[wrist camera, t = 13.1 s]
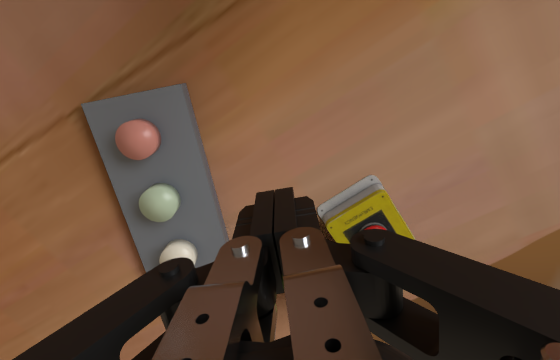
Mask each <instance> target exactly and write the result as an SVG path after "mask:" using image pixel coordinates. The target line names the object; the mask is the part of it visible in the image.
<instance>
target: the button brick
mask: <svg viewBox="0 0 560 360" xmlns="http://www.w3.org/2000/svg"><path fill="white" fill-rule="evenodd" d="M115 142H116V145H117V147H118V149H119V150H120V152H121V153H122V154H123V155H125V156H126V157H128V158H130V159H133V160H142V159H145V158H147V157H149V156H150V155H152V154H154V153H155V152H156V151H157V150H158V149H159V147H160V145H161V135H160V132H159V130H158V128H157V127H156V126H155V125H154V124H153V123H152V122H150V121H148V120H145V119H134V120H131V121H128V122H125V123H123V124H122V125H120V126H119V128H118V129H117V131H116V134H115Z"/></svg>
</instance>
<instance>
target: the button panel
mask: <svg viewBox="0 0 560 360" xmlns="http://www.w3.org/2000/svg"><path fill="white" fill-rule="evenodd" d="M81 105H82V108H83V111H84V113H85V116H86V118H87V121H88V124H89V126H90V129H91V131H92V134H93V136H94V139H95V142H96V144H97V147H98V149H99V152H100V155H101V157H102V160H103V162H104V165H105V167H106V170H107V173H108V175H109V178H110V180H111V183H112V186H113V188H114V191H115V193H116V196H117V198H118V201H119V204H120V206H121V209H122V211H123V214H124V217H125V219H126V222H127V224H128V227H129V229H130V232H131V235H132V237H133V240H134V242H135V245H136V248H137V250H138V253H139V255H140V258H141V260H142V263H143V266H144V268H145V271H146V273H147V272H148V271H150V270H151V269H153V268H154V267H156V266H158V265H159V264H160V262H159V259H160V255H161V253H162V252H163V250H164V249H165V247H166V246H167V244H168V243H169V242H171V241H173V240H176V239H183V240H187V241H189V242H191V243H192V244H193V245H194V246H195V247H196V249H197V252H198V258H197V260H196V263H195V265H194V266H195V268H198V267H200V266H203V265H206V264H209V263H211V262H214V261H215V258H216V256H217V254H218V252H219V249H220V248H221V247H222V245H224V244H225V243H226V242H228V241H229V238H228V235H227V231H226V227H225V224H224V220H223V217H222V213H221V209H220V206H219V202H218V198H217V195H216V191H215V187H214V184H213V180H212V177H211V173H210V169H209V166H208V162H207V158H206V155H205V151H204V147H203V144H202V140H201V137H200V133H199V129H198V126H197V122H196V118H195V115H194V111H193V107H192V104H191V100H190V97H189V93H188V89H187V86H186V83H184V84H178V85H173V86H168V87H163V88H158V89H153V90H148V91H143V92H138V93H133V94H128V95H123V96H118V97H113V98H108V99H103V100H98V101H94V102H89V103H84V104H81ZM134 119H145V120H148V121H150V122H152V123H153V124H154V125H155V126H156V127H157V128H158V130H159V132H160V135H161V145H160V147H159V149H158V150H157V151H156V152H155V153H154V154H152V155H150V156H149V157H147V158H145V159H142V160H133V159H130V158H128V157H126V156H125V155H123V154H122V153H121V152H120V150H119V149H118V147H117V145H116V142H115V134H116V131H117V129H118V128H119V126H120V125H122V124H123V123H125V122H128V121H131V120H134ZM156 183H166V184H169V185H171V186H172V187H174V188H175V189H176V190H177V191H178V193H179V195H180V198H181V203H180V207H179V209H178V210H177V211H176V213H175V214H174V215H173V217H172V218H171V219H169V220H167V221H165V222H154V221H151V220H149V219H148V218H146V217H145V216H144V215H143V214H142V212H141V211H140V208H139V199H140V196H141V195H142V194H143V193H144V192H145V191H146V190H147V189H148V188H149V187H150V186H152V185H154V184H156Z"/></svg>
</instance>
